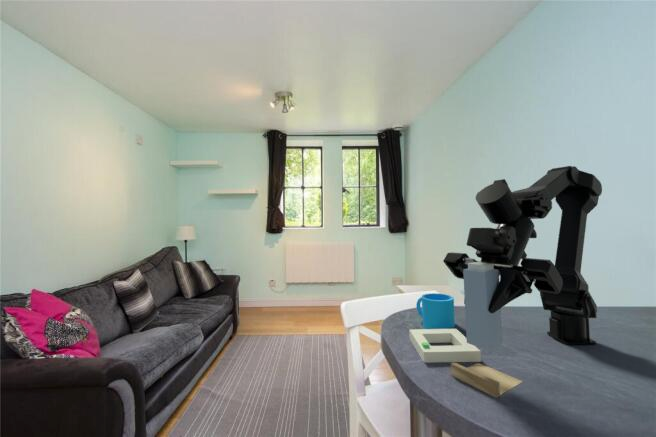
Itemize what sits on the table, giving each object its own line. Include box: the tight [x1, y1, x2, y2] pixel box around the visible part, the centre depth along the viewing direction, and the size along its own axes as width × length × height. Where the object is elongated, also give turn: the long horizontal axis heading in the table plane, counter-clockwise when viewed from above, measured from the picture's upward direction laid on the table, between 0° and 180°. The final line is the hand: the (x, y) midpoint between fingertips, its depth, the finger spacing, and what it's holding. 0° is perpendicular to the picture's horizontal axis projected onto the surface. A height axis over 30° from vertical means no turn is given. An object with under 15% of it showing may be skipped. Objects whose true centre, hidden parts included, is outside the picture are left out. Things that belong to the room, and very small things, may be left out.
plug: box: [463, 262, 503, 352], centre depth 50 cm, size 4×4×14 cm
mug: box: [415, 293, 456, 329], centre depth 79 cm, size 12×8×8 cm
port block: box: [408, 328, 482, 364], centre depth 62 cm, size 11×12×4 cm
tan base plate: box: [450, 362, 524, 398], centre depth 50 cm, size 8×8×3 cm
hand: (477, 308), depth 50 cm, fingers closed on plug, 4 cm apart
